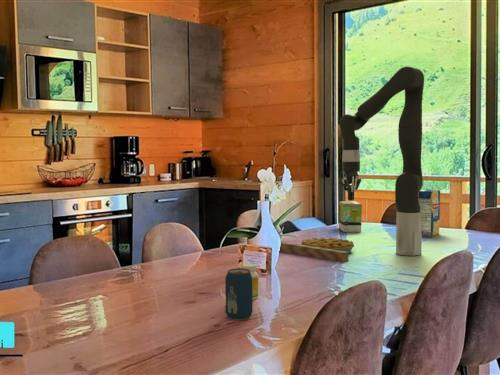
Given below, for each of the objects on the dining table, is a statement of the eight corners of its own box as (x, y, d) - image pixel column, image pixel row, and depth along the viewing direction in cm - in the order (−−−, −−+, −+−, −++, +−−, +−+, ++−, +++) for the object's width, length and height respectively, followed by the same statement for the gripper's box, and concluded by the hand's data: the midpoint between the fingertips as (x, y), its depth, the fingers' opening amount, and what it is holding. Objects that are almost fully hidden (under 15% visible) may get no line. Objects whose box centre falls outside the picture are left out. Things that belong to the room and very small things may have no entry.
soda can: (252, 312, 150) (252, 267, 149) (252, 320, 143) (253, 273, 142) (225, 313, 150) (225, 267, 149) (225, 321, 143) (225, 273, 142)
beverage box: (417, 235, 282) (418, 190, 281) (426, 232, 291) (427, 189, 289) (430, 236, 278) (432, 191, 276) (439, 234, 286) (440, 190, 285)
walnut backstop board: (348, 260, 218) (348, 251, 218) (343, 262, 216) (343, 252, 216) (277, 249, 243) (277, 240, 243) (272, 250, 241) (272, 241, 241)
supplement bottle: (240, 300, 162) (240, 267, 161) (238, 295, 167) (238, 263, 167) (259, 300, 162) (259, 266, 162) (257, 295, 168) (257, 263, 167)
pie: (337, 245, 253) (337, 234, 253) (364, 254, 233) (364, 242, 232) (292, 249, 245) (292, 237, 245) (316, 258, 225) (316, 245, 224)
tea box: (361, 232, 292) (362, 203, 291) (342, 232, 292) (342, 203, 291) (357, 228, 307) (357, 200, 306) (338, 228, 307) (338, 200, 306)
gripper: (349, 161, 241) (349, 201, 242) (366, 160, 251) (366, 199, 252) (335, 160, 246) (335, 201, 247) (352, 160, 256) (352, 198, 257)
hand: (351, 200), depth 250 cm, fingers closed
